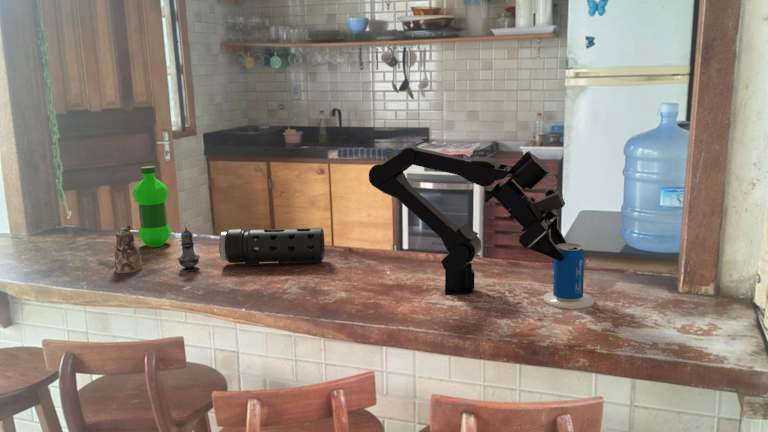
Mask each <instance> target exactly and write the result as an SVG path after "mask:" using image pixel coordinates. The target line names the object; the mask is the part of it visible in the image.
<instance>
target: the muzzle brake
mask: <svg viewBox="0 0 768 432" xmlns="http://www.w3.org/2000/svg"><path fill="white" fill-rule="evenodd" d="M325 246H326V245H325V232H324V228H323V227H311V228H276V229H275V228H272V229H265V228H260V229H250V230H248V231H247V229H244V228H229V229H228V230H227V231H222V232H221V233H220V236H219V241H218V251H219V256H220V257H219V258H220V259H221V261H223V262H225V261H226V262H228V263H230V264H243V263H245V266H258V265H259V264H260V263H278V264H280V265H282V264H291V265H292V264H321V263H322V262H323V261H324V258H325Z"/></svg>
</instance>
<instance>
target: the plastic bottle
mask: <svg viewBox="0 0 768 432" xmlns="http://www.w3.org/2000/svg"><path fill="white" fill-rule="evenodd" d="M156 169H157V168H156V166H155V165H152V166H151V165H149V166H148V165H147V166H142V167H140V172H141V174H143V175H142V177H143V179H141V181H139V182H138V183H137V184H136V185H135V186H134V188H133V190H132V198H133V200H134V202H135V203H136V204H137V205H138V212H139V213H138V215H139V221H140V227H139V229H138V239H139V240H140V242H142V243H143V244H145V245H146V246H147V247H149V248H156V247H162V246H164V245H165V244H166V243H167V242H168V240H170V237H171V235H172V229H171V227H170V226H169V224H168V220H167V219H168V218H167V209H166V201H167V199H168V198H169V189H168V186H167V185H165V184H164V183H163V182H162V181H161V180H159V179H158V178H156V177H155V174H156V173H157V170H156Z"/></svg>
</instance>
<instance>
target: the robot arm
mask: <svg viewBox="0 0 768 432" xmlns="http://www.w3.org/2000/svg"><path fill="white" fill-rule="evenodd" d="M413 165H414V166H417V167H421V168H427V169H429V170H434V171H439V172H443V173H449V174H452V175H455V176H458V177H460V178H462V179H465V181H468V182H470V183H473V184H475V185H477V186H480V187H485V188H486V187H489V186H492V184H494V183H496V182H497V181H499V182H497V183H496V184H495V185H494V186H493V187H492V188H487V189H485V190H484V194H485V196H484V202H485V203H489V202H490V201H491V200H492V199H494V200H496V201H497V203H499V205H500V206H501V207H502V208H503V209H504V210H505V211H506V212H507V213H508V214H509V216H508V218H509V219H510V220H511V221H513V220H514V221H515V222H516V223H517V224H518V225H519V226H520V227H521V228H522V229H521V232H522V233H521V234H520V235H519V237H518V240H519V241H518V243H519V244H520V245H521V247H523V248H524V249H527V248H528V250H532V251H535V252H537V253H539V254H541V255H544V256H547V257H549V258H551V259H553V260H554V259H556V260H558V261H562V260H564V257H563V255H562V254H561V252H560V251H559V249H558V248H557V245H558V244H563V243H568V242H567V240H566V239H565V237H564V235H563V233H562V232H561V230H560V228H559V216H558V214H559V213H558V212H557V211H556V210H560V209H562V208H564V207H565V205H566V202H565V199H564V198H563V193H561V191H560V190H556V189H554V188H553V187H552V188H550V189H548V190H546V191H545V196H543V197H541V198H539V199H536V198H535V197H534V196H530V197H529V196H528V195H527V194H526V192H524V191H525V190H526V189H528V190H533V189H534V188H535V187H536V186H537V185H538V184H539V183H541V182H542V181H543V180H544V179H546V177H547V176H548V175H549V174H550V173H551V169H550V168H549V167H548V165H547V164H546V163H545V162H544V161H543V160H542V159H540V158H539V157H537V156H536V155H535V154H533V153H532V152H531V151H529V150H528V151H526V152H525V153H524V154H523V155H522V157H521V158H520V159H519V160H518V161H517V162H516V163H514V165H510V164H504V163H500V161H499V160H497V159H496V158H492V157H462V156H457V155H452V154H448V153H444V152H439V151H434V150H429V149H424V148H420V147H418V146H414V145H412V146H407V147H405V148H404V149H403V150H402V151H401V152H399V153H398V154H396V155H394V156H392V158H390V159H388V160H387V161H383V162H380V163H377V164H375V165H373V166H372V167H371V168H370V170H369V172H368V181H369V183H370V184H371V186H373V187H374V188H376V189H377V190H379V191H380V192H382V193H383V194H386V195H387V196H390V197H393V198H395V199H397V200H398V201H399V202H400V203H401V204H403V206H405V208H407V209H408V210H409V211H411V212H412V214H413V215H414V216H416V217H417V218H418V219H419V220H421V221H422V222H423V223H424V224H425V225H426V226H427V227H428V228H429V229H430V230H431V231H432V232H434V233H435V234H436V235H437V237H439V238H440V240H441V241H442V243H443V245H444V248H445V249H446V251H447V252H448V254H447V255H446V256H445V257H444V258H442V260H441V261H440V262H441V264H442V267H443V269H444V270H445V271H444V279H445V280H444V281H445V282H444V294H448V295H450V294H454V295H456V294H457V295H459V294H463V295H465V294H466V295H467V294H468V295H469V294H473V293H474V292H473V290H474V289H475V270H474V269H473V265H472V262H473V261H474V259H475V257H476V256H477V255H478V254H479V253H480V252H481V250H482V241H481V238H480V237H479V236H478V235H479V233H478V232H477V231H474V230H473V229H472V228H471V227H470V226H469V224H468V223H466V222H464V223H463V224H461V225H459V224H458V225H457V224H456V223H454V222H452V221H451V219H449V218H448V217H447V216H446V215H444V214H443V213H442V211H440V210H439V209H438V208H437V207H436V206H434V205H433V204H432V203H431V202H430V201H429V200H427V199H426V198H425V197H424V195H422V194H421V193H420V192H419V191H418V190H416V189H415V187H413V186H412V185H411V184H410V182H409V180H408V178H407V176H406V175H405V173H404V172H405V171H407V169H410V167H412V166H413ZM510 175H511V176H510ZM508 176H510V178H509V179H508V180H507V181H505V182H504V181H502V180H504V179H506V178H507V177H508ZM523 190H524V191H523ZM553 218H554V219H553Z"/></svg>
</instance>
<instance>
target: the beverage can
mask: <svg viewBox="0 0 768 432" xmlns="http://www.w3.org/2000/svg"><path fill="white" fill-rule="evenodd" d="M557 248H558V249H559V251H560V252H561V254H562V255H563V257H564V260H562V261H558V260H556V259H553V285H552V286H553V289H552V290H553V291H552V292H553V295H554V296H555V297H556V298H557V299H558V300H561V301H566V302H574V301H578V300H579V299H580V298H582V297H583V293H584V281H585V280H584V279H585V275H584V274H585V250H584V249H583V246H582V245H581V244H578V243H573V242H572V243H570V242H567V243H563V244H558V245H557Z"/></svg>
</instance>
